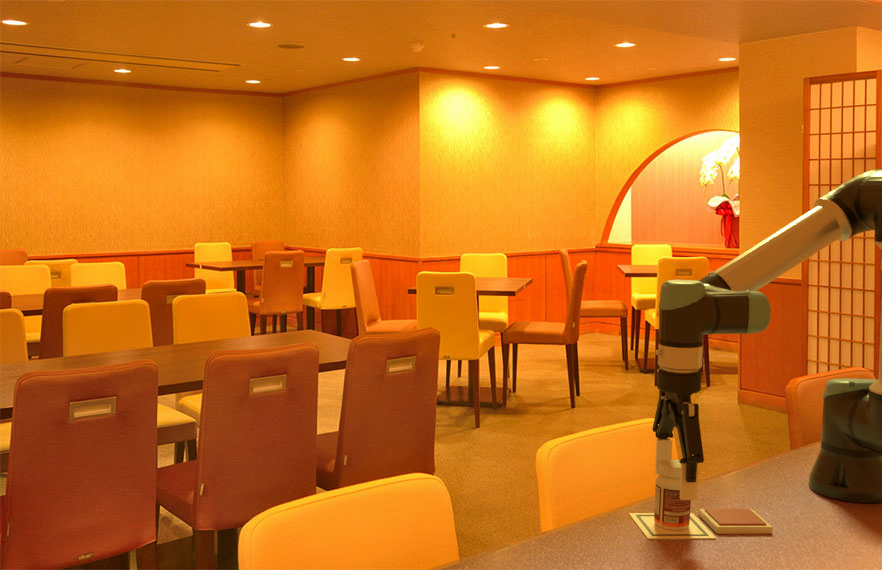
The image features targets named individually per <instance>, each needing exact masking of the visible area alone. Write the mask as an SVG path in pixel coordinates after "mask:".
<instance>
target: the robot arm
mask: <svg viewBox="0 0 882 570" xmlns="http://www.w3.org/2000/svg"><path fill="white" fill-rule="evenodd" d="M870 231H874V244H875V245H876V246H877V247H879V249H880V250H882V168H876V169H872V170H867V171H865V172H863V173H861V174H858V175H856V176H854V177H851V178H850V179H849V180H847V181H845V182H843V183H841V184H840V185H838V186H836V187H835V188H833V189H831V190H830V191H828V192H827V193H826V194H824V195H822V196H821V197H819V198H818V199H816V200H815V201H814V203H813V208H811V209H810V210H808V211H807V212H805V213H804V214H802V215H800V216H799V217H797V218H796V219H794V220H792V221H791V222H790V223H788V224H786V225H785V226H783V227H782V228H780V229H778V230H776V231H775V232H773V233H772V234H770V235H769V236H767V237H765V238H764V239H763V240H760V242H758V243H757V244H755V245H754V246H751V247H750V248H749V249H746V251H744V252H742V253H740V254H739V255H738V256H736V257H734V258H733V259H731V260H730V261H728V262H726V263H725V264H724V265H722V266H720V267H719V268H717V269H716V270H714V271H711V272H710V273H708V274H707V275H706V276H704V277H703V278H701V279H699V280H695V279H692V280H691V279H672V280H671V279H669V280H666V281H665V282H663V283H662V284H661V287H660V293H659V301H658V346H657V347H658V349H656V350H655V355H657V364H658V366H659V368H658V369H657V371H656V372H657V373H656V387H657V389H658V390H659V392H658V393H659V394H658V401H657V405H656V410H655V416H654V420H653V425H652V431H653V433H655V438H656V445H655V446H656V447H655V474H656V475H658V476H659V475H661V474H660V473H659V462H660V461H662V460H667V459H672V460H673V458H672V455H673V453H672V452H673V438H675V436H674V433H673V431H674V429H675V428H676V430H677V435H678V440H679V444H680V445H679V446H680V450H681V455H682V458H680V459H679V460H680V461H679V462H680V463H681V474H680V499H681V500H691V501H694V500H695V501H696V500H698V473H699V463H700V464H703V463H704V462H705V458H704V450H703V442H702V441H703V440H702V434H701V425H700V418H699V417H700V415H699V413H700V412H699V409H700V406H699V404H698V403H692V398H691V397H692V396H693V394H697V393H699V392H701V389H702V372H701V370H700V369H701V368H702V367H703V357H704V356H703V353H704V344H703V342H704V335H736V334H737V335H738V334H741V335H743V334H744V335H745V336H746V335H749V334H757V333H762V332H764V331H765V330H766V329H767V328H768V326H769V325H770V321H771V312H772V311H771V304H770V301H769V299H768V297H767V295H765V293H763V292H761V291H759V290H760V289H762V288H763V287H765V286H766V285H768V284H769V283H771V282H773V281H775V280H776V279H777V278H779V277H780V276H782V275H784V274H786V273H787V272H789V271H790V270H792V269H793V268H795V267H797V266H798V265H800V264H801V263H803V262H804V261H806V260H807V259H809V258H811V257H812V256H814V255H816V254H817V253H819V252H820V251H822V250H824V249H825V248H826V247H828V246H830V245H831V244H833V243H834V242H836V241H840V242H846V241H848V240H849V239H850V238H853V237H854V236H856V235H859V234H862V233H865V232H870ZM880 307H881V308H880V326H879V327H880V329H879V331H880V332H879V353H878V354H879V355H878V359H879V360H878V378H877V379H872V378H852V377H851V378H847V377H846V378H845V377H844V378H842V377H841V378H832V379H830V380H828V381H826V384H825V387H824V391H823V396H822V399H823V404H822V419H821V420H822V421H821V434H820V436H821V437H820V448H819V449H820V450H819V452H818V455H817V457H816V459H815V461H814V463H813V465H812V469H811V470H810V473H809V477H808V487H809V488H810V490H812V491H813V492H815V493H817V494H819V495H822V496H825V497H827V498H831V499H835V500H839V501H844V502H851V503H859V504H860V503H862V504H875V503H876V504H877V503H882V300H881V306H880Z"/></svg>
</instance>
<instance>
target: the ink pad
mask: <svg viewBox="0 0 882 570" xmlns="http://www.w3.org/2000/svg"><path fill="white" fill-rule="evenodd" d="M698 516H699V517H700V518H701V519H702V520H703V521H704V523H706V525H708V526H709V528H710V529H711V530H712V531H713V532H714V533H715V534H719V535H721V534H724V535H726V534H728V535H729V534H731V535H732V534H734V535H735V534H740V535H741V534H747V535H748V534H773V526H772V525H771V523H768V521H766V520H765V518H762V516H761V515H759V514H758V513H757V512H756V511H754V510H753V508H699V509H698Z"/></svg>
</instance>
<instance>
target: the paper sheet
mask: <svg viewBox="0 0 882 570" xmlns="http://www.w3.org/2000/svg"><path fill="white" fill-rule="evenodd" d="M628 515H629V517H630V518H631V519H632V520H633V522H634V523H635V525H637V527H638V529H640V531H641V532H642V534H644V536H645V537H646V539H647V540H717V537H716V536H715V534H713V533H712V532H711V531H710V529H708V527H707V526H706V525H705V524H703V522H702V521H701V520H700V519H699V518H698V517H697V516H696V515H695V514H694V513H693V512H690V523H689V527H688V528H687V529H684V530H666V529H663V528H661V527H659V526H657V525H656V524H655V522H654V512H648V513H647V512H644V513H643V512H634V513H633V512H632V513H631V512H629V513H628Z"/></svg>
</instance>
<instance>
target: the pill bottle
mask: <svg viewBox="0 0 882 570" xmlns="http://www.w3.org/2000/svg"><path fill="white" fill-rule="evenodd" d="M679 461H680V459H673V458H672V459H667V460H662V461H660V462H659V473H660V474H661V475H658V476H656V478H655V494H654V512H653V513H654V522H655V524H656V525H657V526H659V527H661V528H663V529H666V530H684V529H687V528H688V527H689V523H690V513H691V501H692V500H681V499H680V474H681V463H680V462H679Z"/></svg>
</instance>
